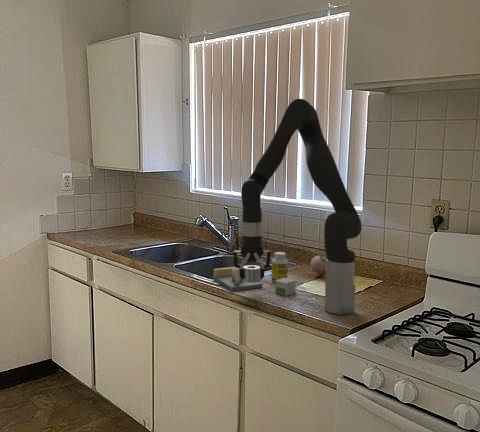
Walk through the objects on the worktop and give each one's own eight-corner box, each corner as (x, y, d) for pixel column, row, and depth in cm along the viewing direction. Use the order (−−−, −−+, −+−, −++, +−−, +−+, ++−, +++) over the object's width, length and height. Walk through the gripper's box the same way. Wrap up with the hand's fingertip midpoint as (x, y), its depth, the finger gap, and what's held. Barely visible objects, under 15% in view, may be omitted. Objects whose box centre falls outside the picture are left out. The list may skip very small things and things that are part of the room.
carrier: (262, 287, 191) (262, 268, 190) (231, 291, 185) (231, 271, 184) (242, 276, 207) (242, 259, 206) (213, 279, 202) (213, 261, 201)
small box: (274, 292, 185) (274, 279, 184) (284, 289, 189) (284, 277, 188) (286, 295, 181) (286, 282, 180) (295, 292, 185) (296, 280, 184)
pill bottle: (274, 283, 197) (275, 255, 195) (269, 279, 203) (269, 251, 202) (289, 282, 199) (290, 254, 197) (284, 278, 205) (284, 251, 203)
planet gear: (263, 281, 180) (263, 268, 180) (248, 283, 178) (248, 269, 177) (255, 277, 186) (255, 264, 186) (240, 279, 183) (240, 266, 183)
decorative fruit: (307, 274, 213) (307, 251, 212) (324, 273, 215) (325, 250, 214) (315, 279, 204) (316, 256, 203) (334, 278, 206) (334, 255, 205)
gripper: (270, 232, 184) (270, 276, 186) (232, 232, 183) (232, 276, 185) (272, 235, 176) (272, 281, 178) (232, 235, 176) (232, 281, 178)
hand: (251, 278), depth 182 cm, fingers closed on planet gear, 6 cm apart
